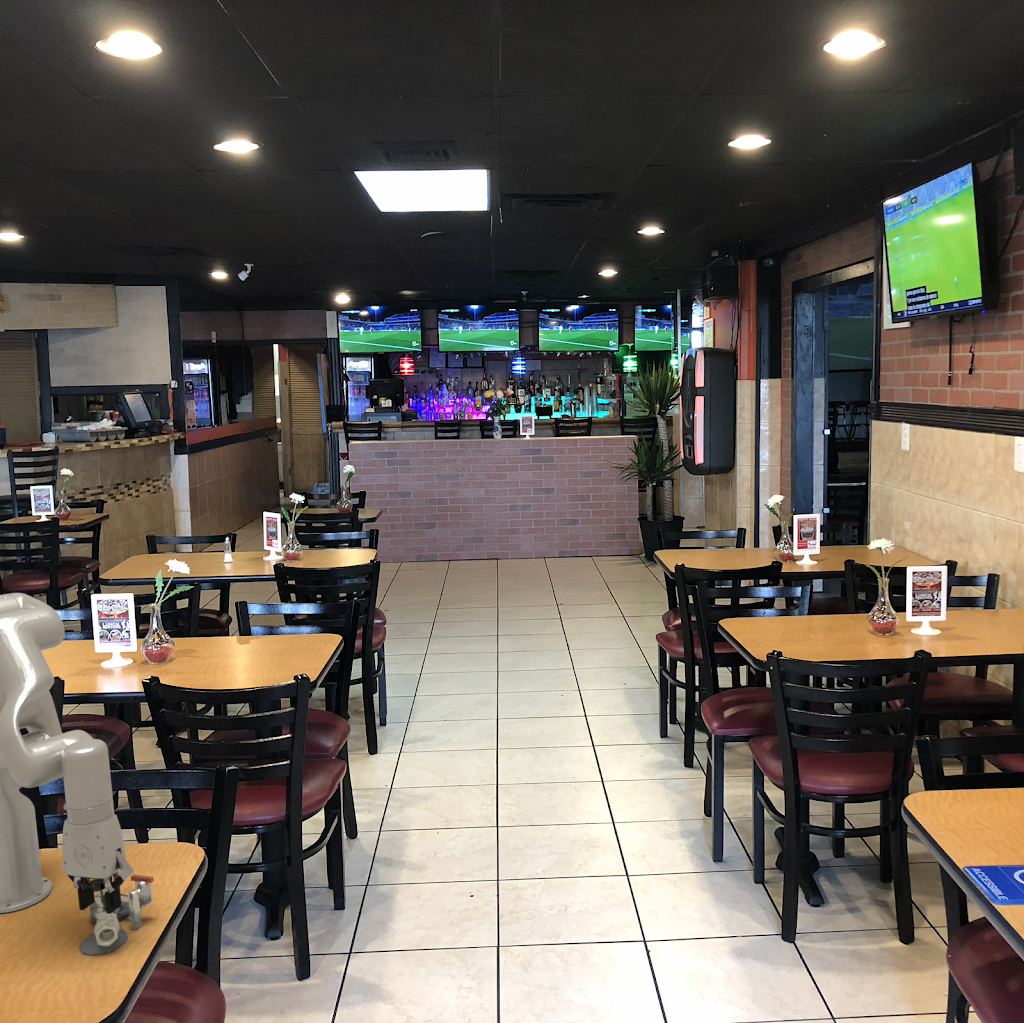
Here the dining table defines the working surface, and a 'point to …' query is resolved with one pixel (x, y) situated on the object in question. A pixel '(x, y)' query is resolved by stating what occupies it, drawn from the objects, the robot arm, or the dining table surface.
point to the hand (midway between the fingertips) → (100, 907)
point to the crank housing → (124, 910)
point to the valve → (102, 913)
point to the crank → (139, 890)
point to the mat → (91, 947)
